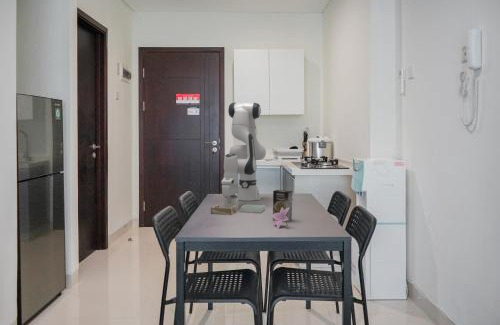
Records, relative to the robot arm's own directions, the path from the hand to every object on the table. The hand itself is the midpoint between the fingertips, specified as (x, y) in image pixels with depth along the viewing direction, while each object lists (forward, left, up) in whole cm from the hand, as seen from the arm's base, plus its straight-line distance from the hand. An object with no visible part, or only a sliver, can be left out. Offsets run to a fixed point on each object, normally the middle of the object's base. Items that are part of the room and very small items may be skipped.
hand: (230, 202), depth 259 cm
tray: (+2, +15, -4) cm, 16 cm away
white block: (0, 0, -4) cm, 4 cm away
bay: (+12, 0, -4) cm, 13 cm away
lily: (+38, +41, -5) cm, 56 cm away
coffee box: (+22, +38, -5) cm, 44 cm away
